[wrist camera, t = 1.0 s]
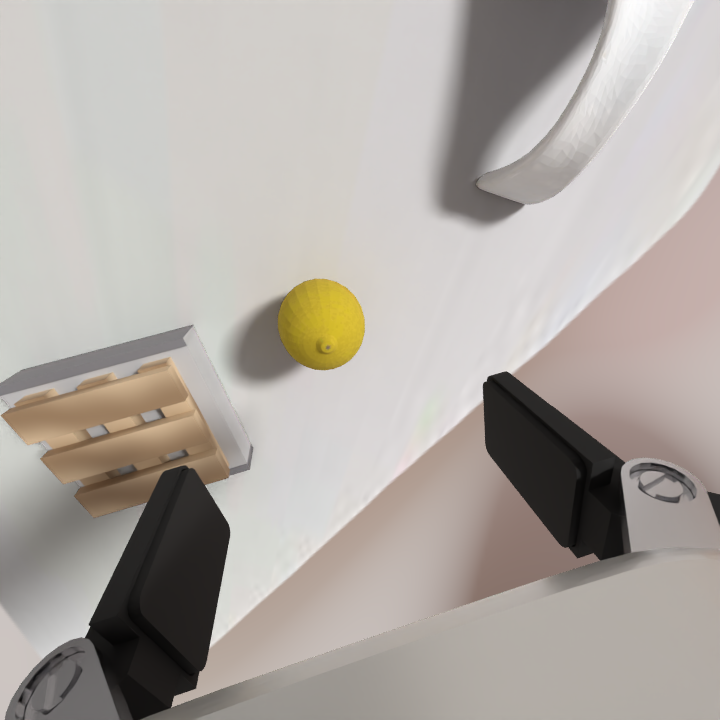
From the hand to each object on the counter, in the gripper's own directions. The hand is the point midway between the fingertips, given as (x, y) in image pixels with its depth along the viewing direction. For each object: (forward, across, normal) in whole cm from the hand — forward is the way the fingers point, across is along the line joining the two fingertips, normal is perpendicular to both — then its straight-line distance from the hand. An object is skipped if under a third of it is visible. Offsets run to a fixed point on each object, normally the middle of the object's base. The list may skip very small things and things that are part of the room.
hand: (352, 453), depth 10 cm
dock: (+16, +15, +5) cm, 23 cm away
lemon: (+16, 0, 0) cm, 17 cm away
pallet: (+14, +15, +5) cm, 21 cm away
